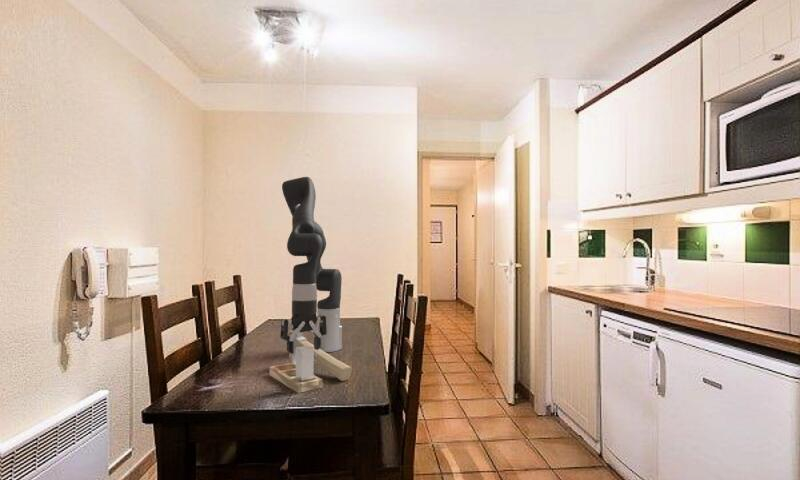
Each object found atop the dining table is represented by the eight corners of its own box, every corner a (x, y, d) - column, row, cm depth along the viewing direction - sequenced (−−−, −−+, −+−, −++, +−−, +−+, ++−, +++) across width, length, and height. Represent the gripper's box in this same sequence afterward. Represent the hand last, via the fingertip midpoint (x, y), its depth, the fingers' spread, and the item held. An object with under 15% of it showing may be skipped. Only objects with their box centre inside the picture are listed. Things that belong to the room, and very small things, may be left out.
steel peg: (307, 384, 141) (307, 345, 141) (313, 387, 138) (313, 348, 138) (295, 386, 139) (295, 347, 139) (301, 389, 135) (301, 349, 135)
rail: (292, 371, 155) (292, 363, 155) (322, 387, 138) (322, 378, 138) (269, 375, 150) (269, 366, 150) (298, 393, 133) (298, 383, 133)
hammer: (355, 350, 145) (301, 318, 165) (344, 353, 141) (290, 320, 161) (348, 395, 147) (295, 359, 167) (336, 399, 144) (284, 361, 163)
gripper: (319, 295, 146) (319, 346, 145) (277, 298, 137) (276, 352, 137) (330, 298, 140) (330, 350, 139) (287, 301, 131) (286, 357, 131)
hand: (303, 351), depth 138 cm, fingers open, 8 cm apart
